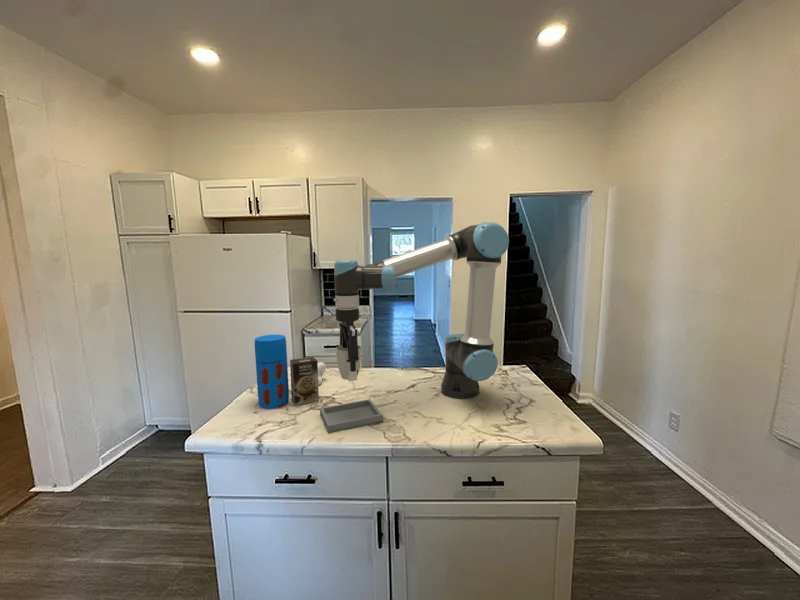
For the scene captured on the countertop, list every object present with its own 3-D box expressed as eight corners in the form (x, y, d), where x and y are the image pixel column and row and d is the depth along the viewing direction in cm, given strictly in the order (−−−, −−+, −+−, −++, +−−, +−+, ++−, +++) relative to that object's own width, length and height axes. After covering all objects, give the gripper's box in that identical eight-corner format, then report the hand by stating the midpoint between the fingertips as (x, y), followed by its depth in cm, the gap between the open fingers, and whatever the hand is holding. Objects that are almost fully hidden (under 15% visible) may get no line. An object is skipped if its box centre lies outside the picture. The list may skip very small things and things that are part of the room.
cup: (357, 382, 112) (356, 351, 111) (333, 380, 114) (332, 350, 113) (364, 373, 120) (364, 344, 119) (342, 372, 122) (341, 343, 120)
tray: (370, 405, 129) (369, 399, 128) (383, 422, 116) (383, 414, 116) (320, 414, 122) (319, 408, 122) (328, 433, 109) (328, 425, 109)
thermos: (294, 402, 132) (291, 337, 129) (267, 412, 124) (263, 342, 121) (280, 395, 140) (276, 333, 136) (253, 403, 132) (249, 338, 129)
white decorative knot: (292, 387, 148) (290, 366, 147) (305, 377, 160) (304, 358, 159) (316, 388, 146) (316, 367, 145) (328, 379, 157) (328, 359, 156)
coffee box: (294, 407, 129) (292, 364, 126) (291, 400, 134) (289, 359, 132) (319, 401, 133) (317, 360, 131) (315, 395, 138) (313, 355, 136)
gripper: (329, 304, 122) (331, 368, 125) (343, 313, 103) (345, 388, 106) (350, 303, 125) (352, 366, 128) (368, 311, 106) (369, 385, 109)
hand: (349, 376), depth 117 cm, fingers closed on cup, 8 cm apart
